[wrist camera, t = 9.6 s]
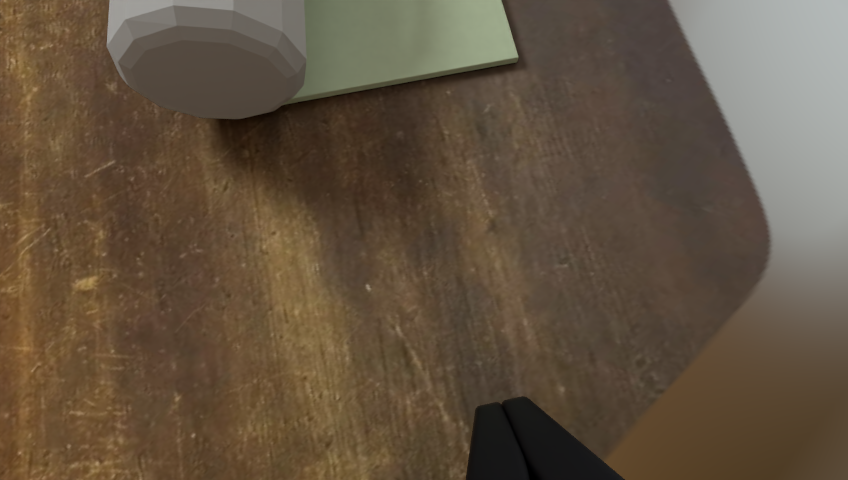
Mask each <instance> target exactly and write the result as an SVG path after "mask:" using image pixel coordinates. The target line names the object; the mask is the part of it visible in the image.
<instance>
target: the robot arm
mask: <svg viewBox="0 0 848 480" xmlns="http://www.w3.org/2000/svg"><path fill="white" fill-rule="evenodd" d="M466 480H625V479H623V478H622V477H621V476H620V475H619V474H617V473H616V472H615V471H614V470H613V469H611V468H610V467H609V466H608V465H607V464H606V463H604V462H603V461H602V460H601V459H600V458H598V457H597V456H596V455H595V454H594V453H593V452H591V451H590V450H589V449H588V448H587V447H585V446H584V445H583V444H582V443H581V442H579V441H578V440H577V439H576V438H575V437H574V436H572V435H571V434H570V433H569V432H568V431H566V430H565V429H564V428H563V427H562V426H560V425H559V424H558V423H557V422H556V421H555V420H553V419H552V418H551V417H550V416H549V415H547V414H546V413H545V412H544V411H543V410H541V409H540V408H539V407H538V406H537V405H535V404H534V403H533V402H532V401H531V400H530V399H528V398H527V397H524V396H522V397H517V398H513V399H508V400H504V401H503V402H502V404H500V403H498V402H494V403H490V404H485V405H481V406H478V407H477V408H476V410H475V416H474V423H473V431H472V438H471V445H470V453H469V460H468V467H467V475H466Z"/></svg>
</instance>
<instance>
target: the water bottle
mask: <svg viewBox="0 0 848 480" xmlns="http://www.w3.org/2000/svg"><path fill="white" fill-rule="evenodd" d="M107 48H108V50H109V52H110V55H111V57H112V59H113V61H114V63H115V66H116V68H117V70H118V72H119V75H120V76H121V77H122V79H123V80H124V81H125V82H126V84H127V85H128V86H129V87H130V88H132V89H133V90H135V91H136V92H138V93H139V94H141V95H142V96H144V97H146V98H147V99H149V100H150V101H152V102H153V103H155V104H157V105H158V106H160V107H163V108H167V109H171V110H174V111H178V112H181V113H185V114H189V115H192V116H196V117H199V118H217V119H242V118H247V117H251V116H255V115H260V114H264V113H269V112H273V111H275V110H276V109H278V108H279V107H280V106H282V105H283V104H284V103H286V102H287V101H288V100H290V99H291V98H292V97H293V96H295V95H296V94H297V93H298V91H299V90H300V89H301V88H302V87H303V86H304V80H305V70H306V60H307V57H306V34H305V10H304V0H110V3H109V19H108V34H107Z"/></svg>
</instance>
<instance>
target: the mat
mask: <svg viewBox="0 0 848 480" xmlns="http://www.w3.org/2000/svg"><path fill="white" fill-rule="evenodd" d="M304 10H305V34H306V57H307V60H306V70H305V80H304V86H303V87H302V88H301V89H300V90H299V91H298V93H297V94H296V95H295V96H293V97H292V98H291V99H290V100H288V101H287V102H286V103H284V104H283V105H285V104H291V103H296V102H302V101H307V100H313V99H318V98H324V97H329V96H335V95H340V94H346V93H351V92H357V91H362V90H368V89H373V88H379V87H384V86H390V85H395V84H401V83H406V82H412V81H417V80H423V79H428V78H434V77H439V76H444V75H450V74H455V73H461V72H466V71H472V70H477V69H483V68H488V67H494V66H499V65H505V64H510V63H516V62H517V61H518V54H517V50H516V47H515V44H514V40H513V37H512V34H511V30H510V27H509V24H508V20H507V17H506V14H505V10H504V7H503V4H502V0H304Z"/></svg>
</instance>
